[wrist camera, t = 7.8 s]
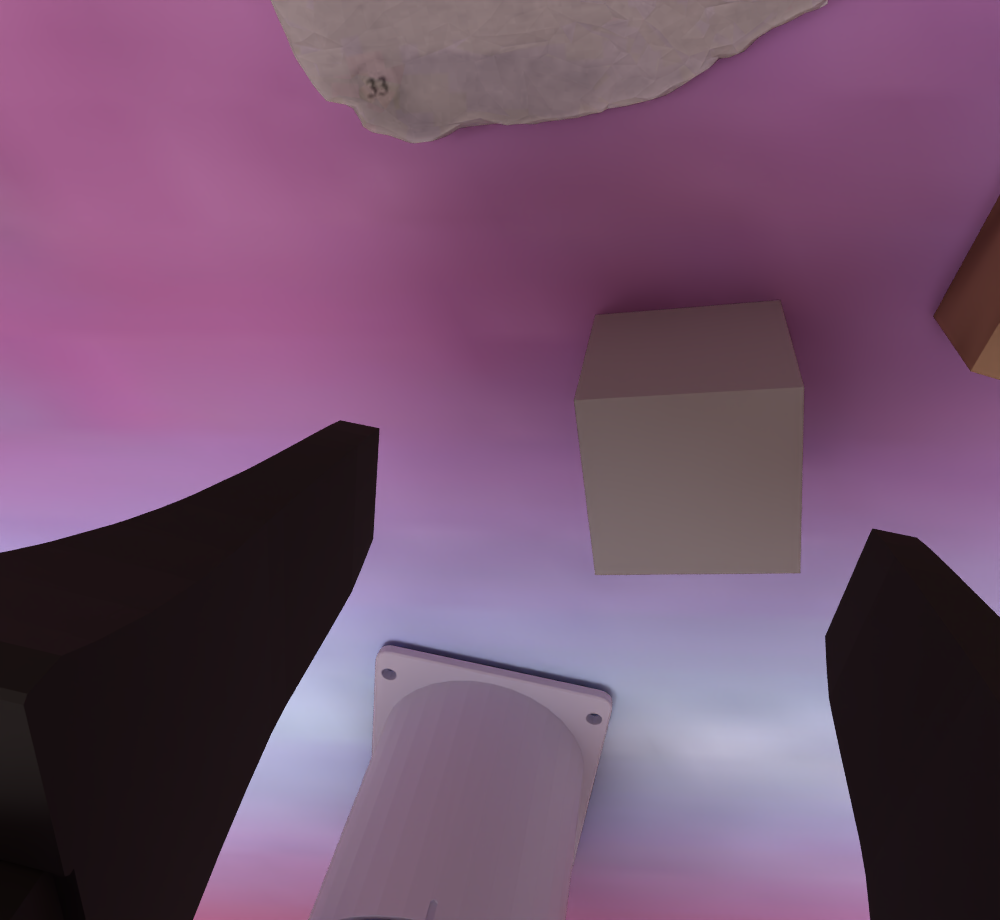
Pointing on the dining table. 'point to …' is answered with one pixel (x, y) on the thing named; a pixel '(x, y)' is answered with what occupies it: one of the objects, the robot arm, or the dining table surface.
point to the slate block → (692, 441)
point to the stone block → (512, 55)
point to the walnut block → (976, 302)
